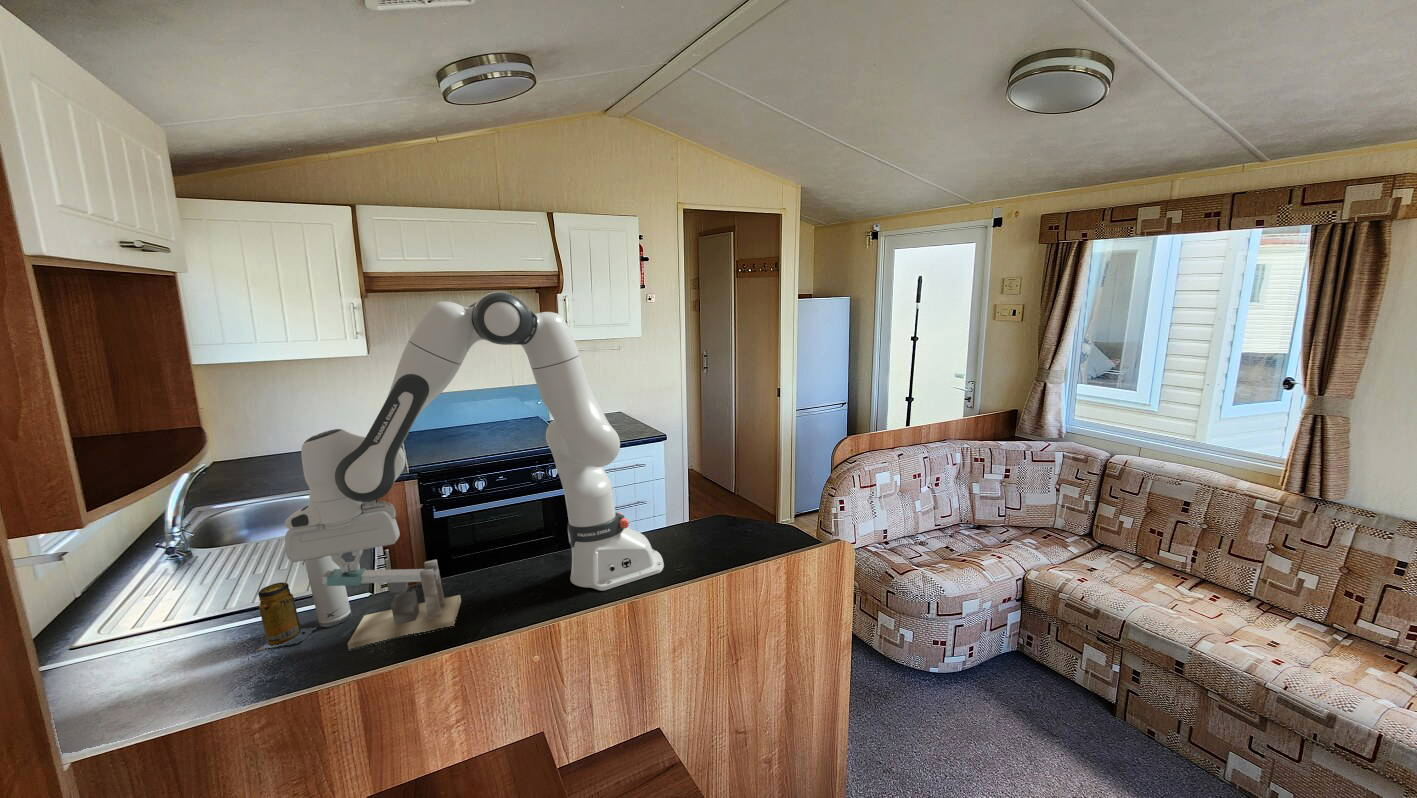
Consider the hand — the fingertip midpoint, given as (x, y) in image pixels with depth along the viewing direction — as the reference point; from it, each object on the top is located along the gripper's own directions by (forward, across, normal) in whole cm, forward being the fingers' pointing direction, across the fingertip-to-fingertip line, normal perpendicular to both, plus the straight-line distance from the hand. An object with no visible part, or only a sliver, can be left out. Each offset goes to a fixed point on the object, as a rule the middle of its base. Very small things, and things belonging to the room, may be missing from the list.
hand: (350, 571), depth 123 cm
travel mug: (+15, +8, -10) cm, 20 cm away
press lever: (+6, -5, 0) cm, 7 cm away
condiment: (+15, +16, -6) cm, 23 cm away
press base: (+14, -9, 0) cm, 17 cm away
